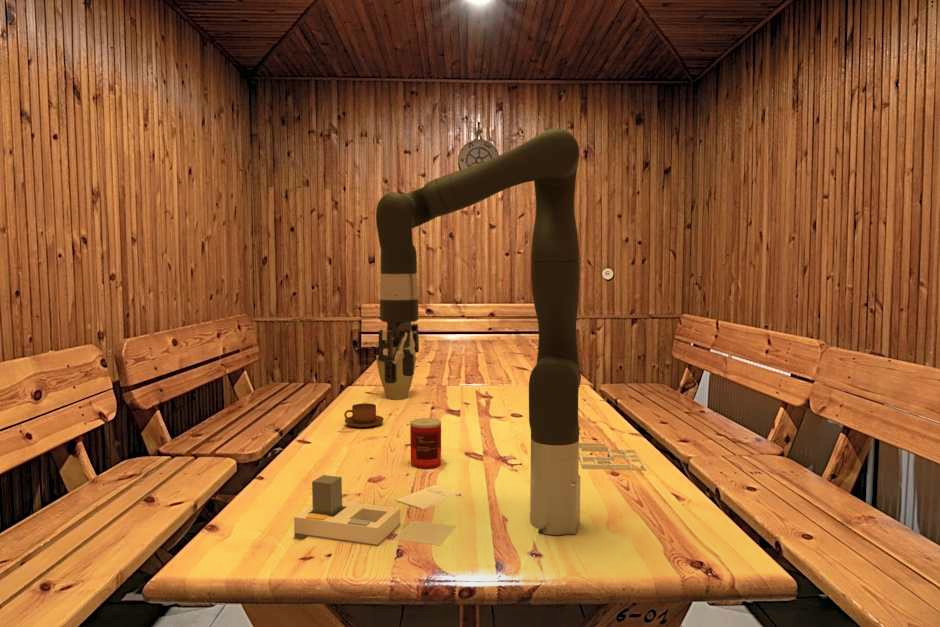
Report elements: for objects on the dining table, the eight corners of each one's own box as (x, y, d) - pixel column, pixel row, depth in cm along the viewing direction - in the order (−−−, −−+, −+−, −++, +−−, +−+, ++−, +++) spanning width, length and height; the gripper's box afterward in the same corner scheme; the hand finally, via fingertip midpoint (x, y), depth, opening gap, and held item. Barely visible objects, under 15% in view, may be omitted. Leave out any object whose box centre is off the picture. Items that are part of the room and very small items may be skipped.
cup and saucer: (358, 432, 200) (357, 412, 199) (337, 424, 209) (337, 405, 208) (391, 425, 208) (390, 406, 207) (369, 418, 217) (369, 400, 216)
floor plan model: (541, 448, 184) (542, 441, 183) (634, 451, 181) (634, 444, 181) (543, 470, 165) (543, 462, 165) (646, 473, 163) (646, 465, 163)
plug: (342, 522, 128) (341, 477, 127) (331, 530, 124) (330, 483, 124) (324, 520, 130) (323, 475, 129) (313, 527, 126) (312, 481, 125)
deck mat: (456, 530, 127) (456, 526, 127) (439, 549, 119) (439, 545, 119) (412, 524, 130) (412, 520, 130) (393, 543, 121) (393, 538, 121)
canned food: (427, 457, 174) (426, 416, 173) (447, 464, 168) (447, 421, 167) (404, 464, 168) (403, 421, 167) (424, 471, 163) (424, 427, 162)
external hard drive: (394, 507, 141) (433, 490, 150) (422, 516, 136) (461, 498, 145) (394, 499, 141) (433, 483, 150) (422, 508, 135) (461, 491, 145)
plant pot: (382, 393, 257) (382, 352, 256) (420, 394, 255) (420, 353, 254) (371, 401, 242) (371, 358, 241) (411, 402, 240) (411, 358, 239)
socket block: (400, 528, 128) (400, 506, 128) (377, 550, 118) (377, 526, 118) (322, 518, 133) (321, 497, 133) (294, 538, 124) (294, 515, 123)
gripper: (402, 299, 122) (403, 386, 123) (430, 295, 135) (430, 374, 137) (365, 298, 124) (366, 384, 125) (396, 294, 138) (397, 372, 139)
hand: (399, 379), depth 131 cm, fingers open, 8 cm apart
